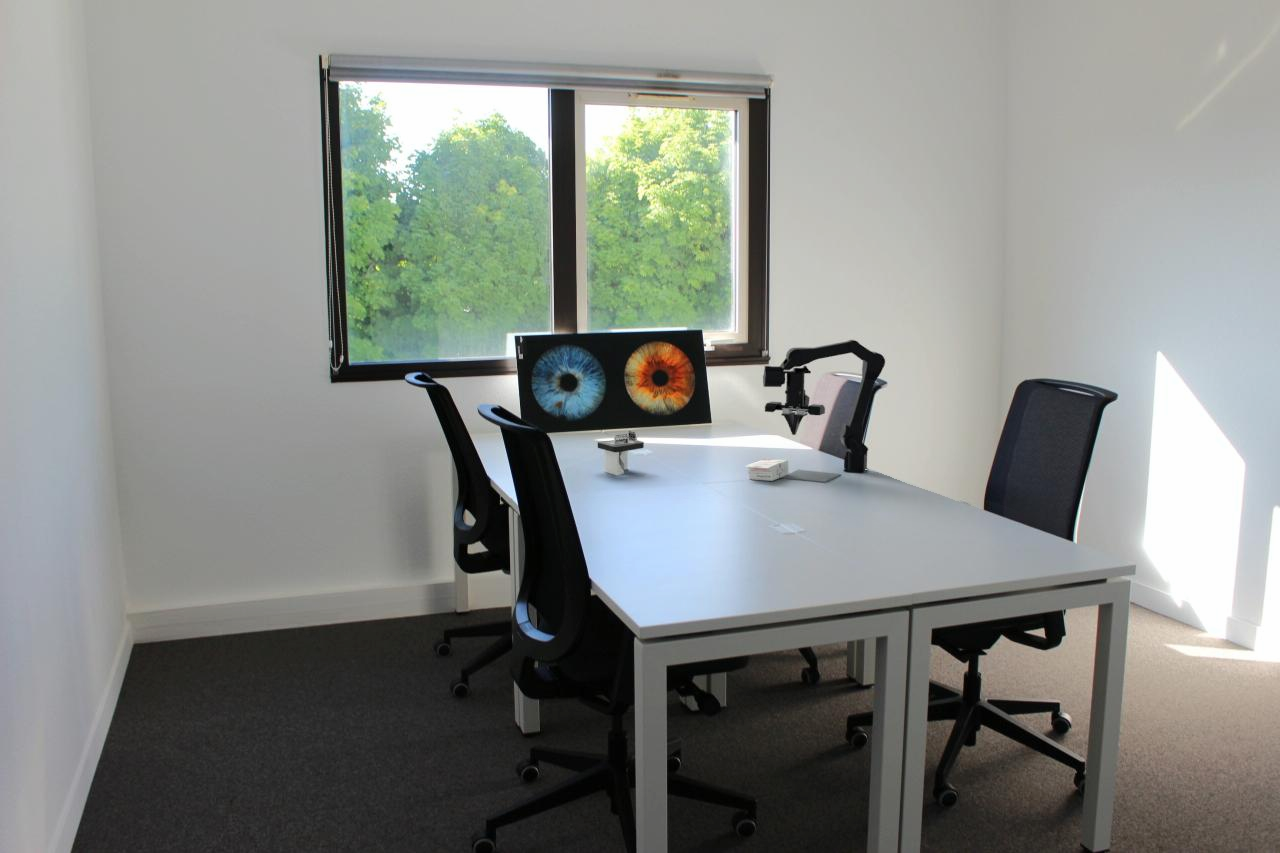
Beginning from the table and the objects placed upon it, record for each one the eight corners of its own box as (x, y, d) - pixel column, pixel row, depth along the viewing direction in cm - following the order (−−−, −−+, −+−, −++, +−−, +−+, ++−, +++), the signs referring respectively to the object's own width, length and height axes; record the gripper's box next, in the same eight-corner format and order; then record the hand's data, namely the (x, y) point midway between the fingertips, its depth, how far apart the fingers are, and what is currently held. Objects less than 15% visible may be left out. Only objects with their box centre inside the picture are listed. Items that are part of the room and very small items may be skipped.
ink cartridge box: (765, 473, 352) (744, 481, 340) (764, 458, 352) (743, 465, 340) (789, 475, 348) (768, 482, 336) (788, 459, 347) (768, 466, 335)
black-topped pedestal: (607, 485, 336) (606, 442, 334) (564, 471, 357) (564, 431, 355) (680, 475, 351) (681, 434, 349) (636, 462, 373) (635, 424, 371)
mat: (840, 475, 349) (840, 473, 349) (825, 482, 337) (825, 481, 337) (798, 470, 356) (798, 469, 356) (781, 478, 344) (781, 476, 344)
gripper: (830, 386, 354) (829, 433, 357) (776, 383, 363) (775, 429, 365) (820, 389, 345) (818, 438, 347) (764, 386, 353) (763, 433, 355)
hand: (794, 434), depth 354 cm, fingers closed
